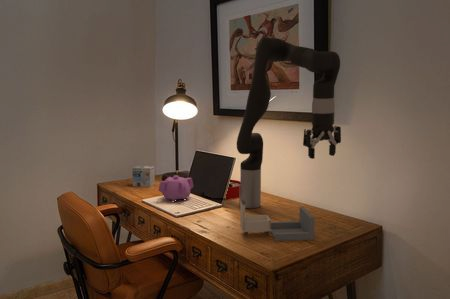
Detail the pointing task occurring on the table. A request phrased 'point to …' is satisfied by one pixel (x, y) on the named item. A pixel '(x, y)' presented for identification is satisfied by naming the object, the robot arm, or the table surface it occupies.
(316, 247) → the table surface
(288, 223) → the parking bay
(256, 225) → the toy cart
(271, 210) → the table surface
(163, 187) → the pot
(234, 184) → the toy clock
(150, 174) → the light bulb box
